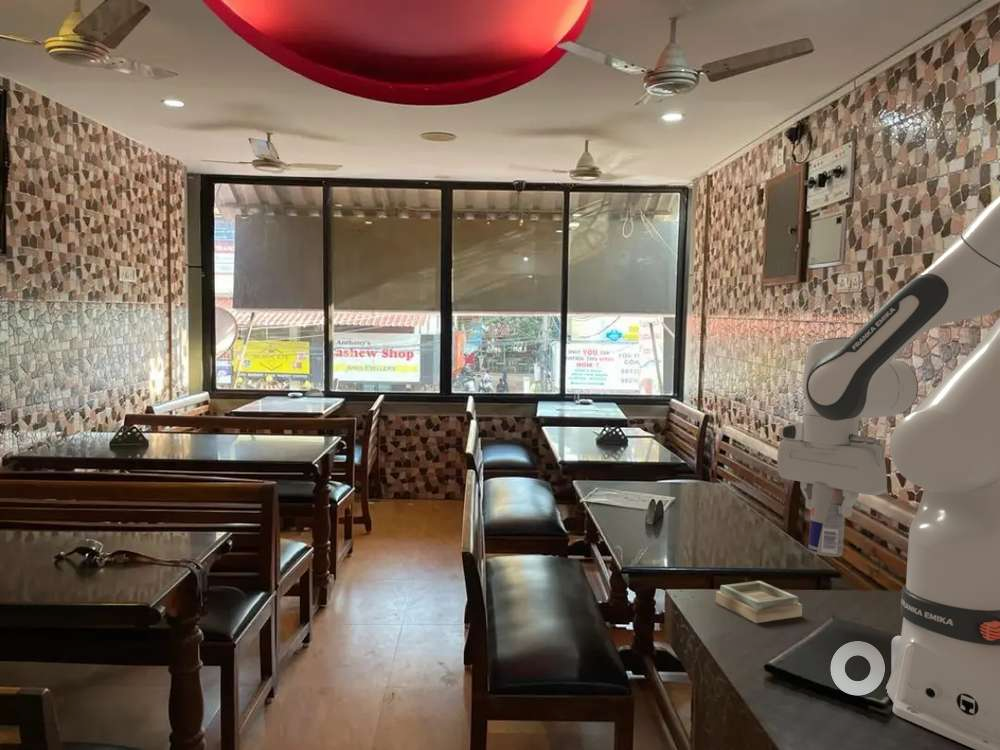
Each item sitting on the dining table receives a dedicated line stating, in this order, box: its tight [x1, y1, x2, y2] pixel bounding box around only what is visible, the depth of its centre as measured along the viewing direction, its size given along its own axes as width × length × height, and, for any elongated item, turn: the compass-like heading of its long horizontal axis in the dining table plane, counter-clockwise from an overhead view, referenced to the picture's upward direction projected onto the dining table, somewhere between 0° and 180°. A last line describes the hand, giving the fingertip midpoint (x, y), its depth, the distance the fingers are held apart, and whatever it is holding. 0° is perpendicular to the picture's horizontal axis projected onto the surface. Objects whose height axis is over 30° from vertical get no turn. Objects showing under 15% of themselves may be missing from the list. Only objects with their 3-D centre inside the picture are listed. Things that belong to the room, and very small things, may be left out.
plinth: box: [715, 580, 803, 624], centre depth 124 cm, size 10×10×3 cm
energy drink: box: [808, 483, 846, 558], centre depth 123 cm, size 5×5×12 cm
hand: (827, 512), depth 123 cm, fingers closed on energy drink, 5 cm apart
